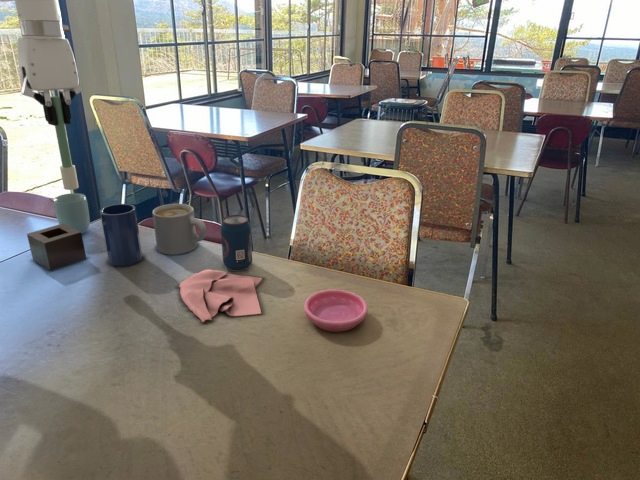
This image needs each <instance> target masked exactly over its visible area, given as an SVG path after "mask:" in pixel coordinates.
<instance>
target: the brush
mask: <svg viewBox="0 0 640 480" xmlns="http://www.w3.org/2000/svg"><path fill="white" fill-rule="evenodd" d="M51 102H52V106H54V107H55V109H56V114H57V120H58V125H57V126H54V129H55V134H56V140H57V144H58V150H59V157H60V161H61V165H60V167H59V169H60V175H61V179H62V180H61V181H62V185H63V189H64V190H67V191H69V190H70V191H72V190H77V189H79V187H80V186H79V181H78V175H77V169H76V165H75V164H73V161H72V155H71V150H70V149H71V148H70V145H69V144H70V143H69V139H68V133H67V128H66V124H65V121H64V116H63V110H62V104H61V99H60V97H58V95H56V96H51Z"/></svg>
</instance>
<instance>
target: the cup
mask: <svg viewBox="0 0 640 480" xmlns="http://www.w3.org/2000/svg"><path fill="white" fill-rule="evenodd" d="M52 203H53V208H54V212H55V216H56V220H57V225H59V224H65V225H68V226H70V227H72V228H74V229H76V230H78V231H80V232H81V233H82V234H84V233H86V232H87V231H88V230H89V229H90V225H91V217H90V209H89V203H88V199H87V196H86V195H85V194H84V193H77V192H76V193H75V192H74V193H65V194H64V193H63V194H60V195H57V196H56V197H54V198H53V199H52Z"/></svg>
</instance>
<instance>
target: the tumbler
mask: <svg viewBox="0 0 640 480" xmlns="http://www.w3.org/2000/svg"><path fill="white" fill-rule="evenodd" d="M99 214H100V220H101V227H102V231H103V236H104V242H105V249H106V255H107V259H108V263H109V264H110V265H111V266H113V267H127V266H132V265H135V264H137V263H140V262H141V261H142V259H143V251H142V243H141V237H140V230H139V223H138V216H137V209H136V206H135V205H133V204H130V203H115V204H110V205H107V206H104V207H102V208H101V209H100V210H99Z"/></svg>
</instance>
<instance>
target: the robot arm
mask: <svg viewBox="0 0 640 480" xmlns="http://www.w3.org/2000/svg"><path fill="white" fill-rule="evenodd" d="M0 2H1V3H7V2H14V3H15V4H14V5H15V8H16V11H17V12H16V13H17V19H18V23H19V28H20V34H21V37H17V42H16V44H17V46H16V47H17V63H18V71H19V77H20V82H21V85H22V87H21V90H20V92H21V95H22V96H26V97H28V98H31V99H34V100H35V101H36V102H37V103H39V104H40V105H41V106H42V108H43V109H42V110H43V114H44V119H45V121H46V122H47V124H48V125H51V126H53V127H55V126H57V125H58V120H57V114H56V109H55V107H54V106H52V102H51V97H52V96H51V91H56V92H57V96H58V97H60V99H61V104H62V110H63V116H64V121H65V125H71V123H72V122H71V119H72V113H71V108H70V105H71V104H72V101H73V99H74V98H75V97H76V95H79V94H80V93H82V92H83V91H84V88H83V86H82V84H81V82H80V80H79V73H78V67H77V63H76V60H75V59H76V58H75V56H74V52H73V50H72V47H71V43H70V41H69V39H68V38H65V36H66V33H70V27H69V26H68V25H67V24H64V21H62V14H61V9H60V8H61V7H60V2H59V0H0ZM33 90H34V91H33ZM35 91H37V92H35Z"/></svg>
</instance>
